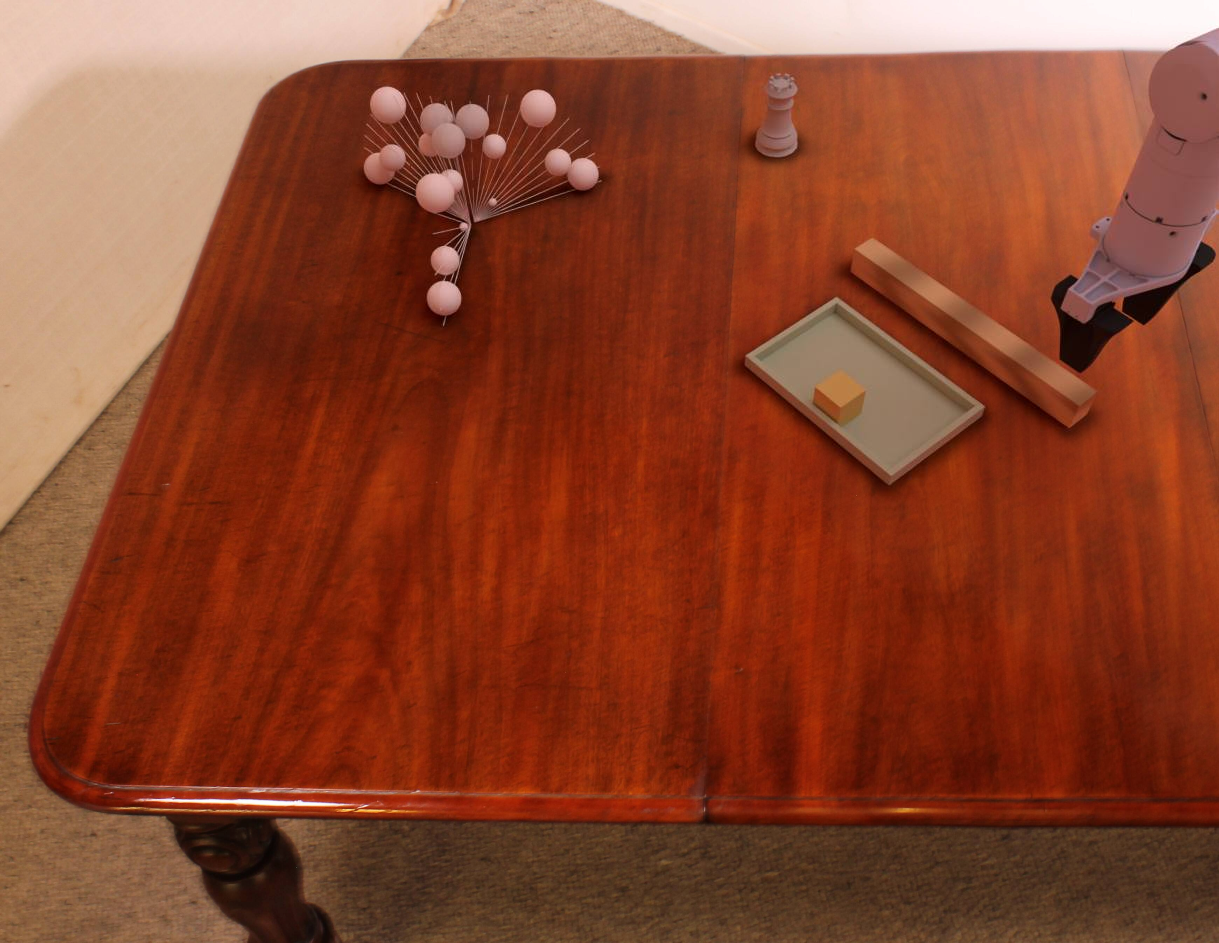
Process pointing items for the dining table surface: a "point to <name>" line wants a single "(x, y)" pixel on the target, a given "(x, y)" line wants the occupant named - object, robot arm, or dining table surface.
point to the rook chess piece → (778, 119)
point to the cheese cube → (839, 398)
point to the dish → (891, 374)
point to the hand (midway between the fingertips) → (1104, 340)
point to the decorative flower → (450, 143)
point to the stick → (974, 333)
